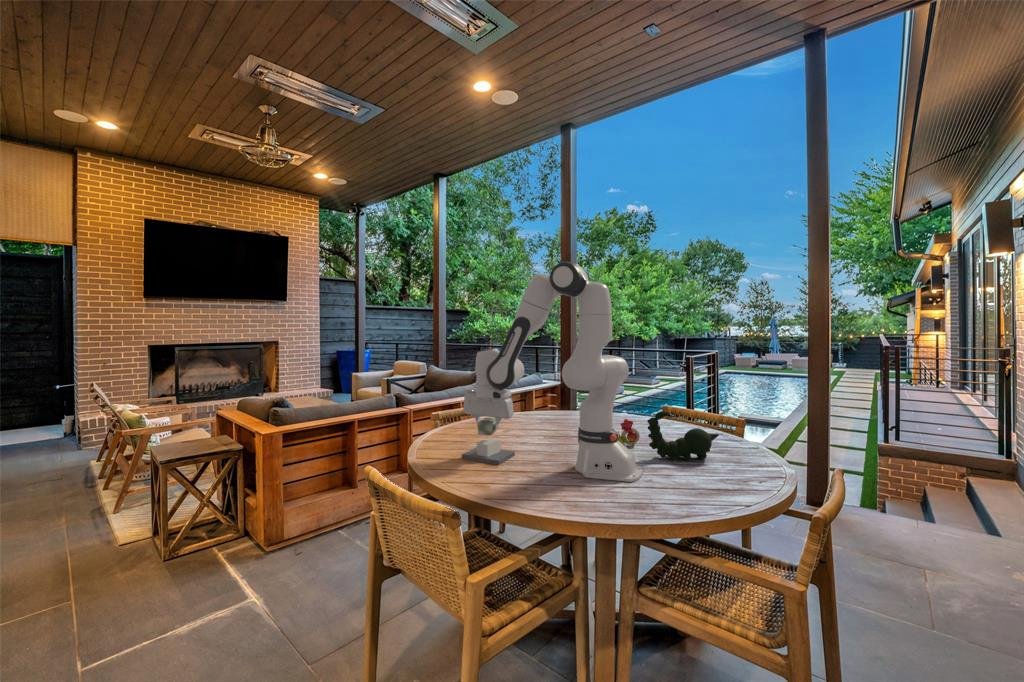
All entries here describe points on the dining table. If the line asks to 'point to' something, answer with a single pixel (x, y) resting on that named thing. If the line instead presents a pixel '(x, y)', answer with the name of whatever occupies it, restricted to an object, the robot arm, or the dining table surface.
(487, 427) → the sage brick
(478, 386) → the robot arm
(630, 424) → the bird rattle
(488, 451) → the cream brick
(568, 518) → the dining table surface
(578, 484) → the dining table surface
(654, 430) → the toy figurine
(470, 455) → the base plate
